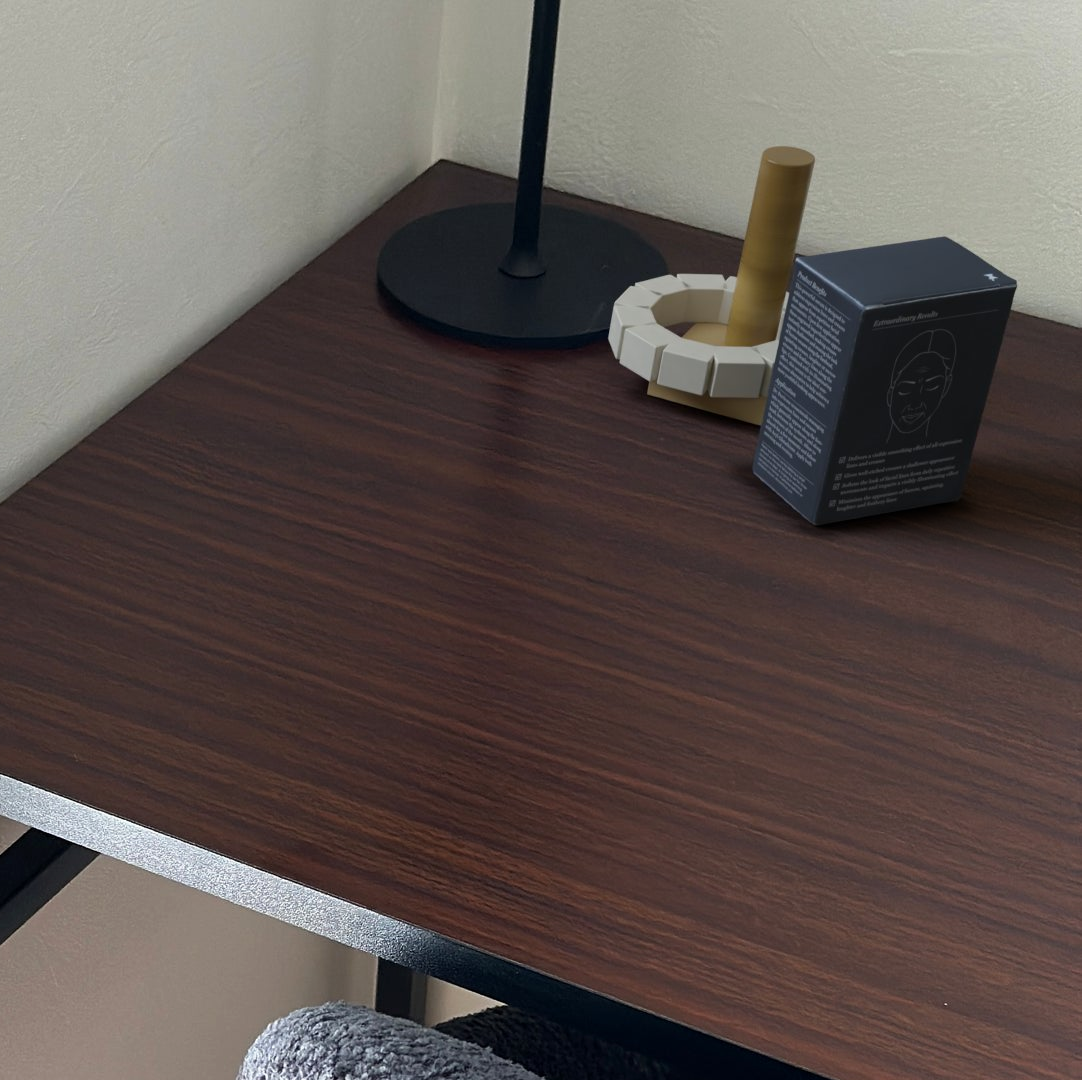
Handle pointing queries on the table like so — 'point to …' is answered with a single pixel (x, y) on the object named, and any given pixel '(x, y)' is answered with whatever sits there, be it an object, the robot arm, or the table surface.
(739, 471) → the table surface
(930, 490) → the box
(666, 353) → the ring
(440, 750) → the table surface
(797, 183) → the post
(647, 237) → the table surface
